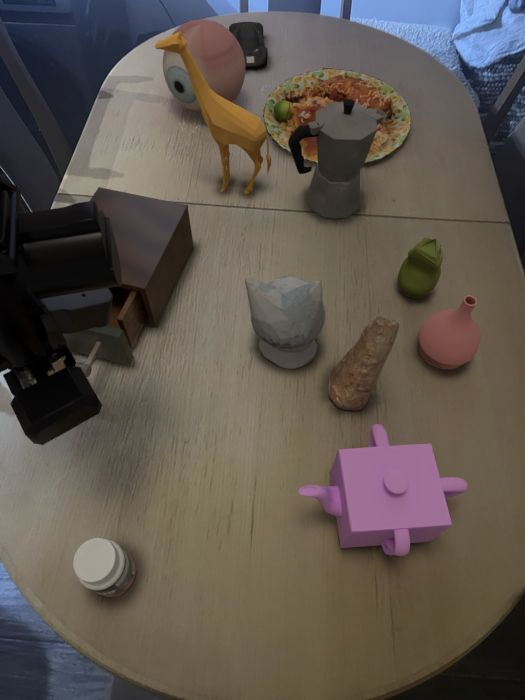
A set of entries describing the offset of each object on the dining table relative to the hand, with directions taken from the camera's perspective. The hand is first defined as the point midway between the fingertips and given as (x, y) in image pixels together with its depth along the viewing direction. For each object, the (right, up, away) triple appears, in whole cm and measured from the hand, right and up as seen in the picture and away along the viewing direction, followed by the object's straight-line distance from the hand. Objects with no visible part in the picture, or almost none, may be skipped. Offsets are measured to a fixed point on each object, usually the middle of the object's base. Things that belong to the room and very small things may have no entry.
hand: (56, 387), depth 53 cm
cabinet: (+2, +15, +25) cm, 29 cm away
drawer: (-1, +7, +19) cm, 20 cm away
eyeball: (+11, +51, +47) cm, 71 cm away
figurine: (+24, +5, +19) cm, 31 cm away
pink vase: (+46, +3, +18) cm, 49 cm away
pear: (+44, +13, +24) cm, 51 cm away
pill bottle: (+5, -20, +3) cm, 21 cm away
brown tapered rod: (+33, -2, +15) cm, 36 cm away
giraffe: (+15, +32, +35) cm, 50 cm away
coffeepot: (+32, +29, +33) cm, 55 cm away
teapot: (+34, -14, +7) cm, 37 cm away
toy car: (+18, +68, +58) cm, 91 cm away
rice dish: (+35, +47, +45) cm, 74 cm away
